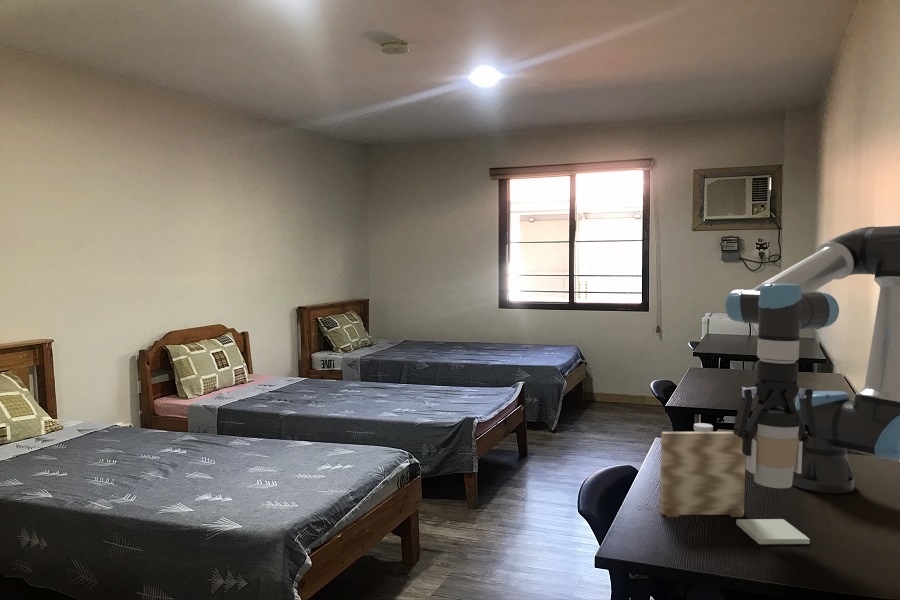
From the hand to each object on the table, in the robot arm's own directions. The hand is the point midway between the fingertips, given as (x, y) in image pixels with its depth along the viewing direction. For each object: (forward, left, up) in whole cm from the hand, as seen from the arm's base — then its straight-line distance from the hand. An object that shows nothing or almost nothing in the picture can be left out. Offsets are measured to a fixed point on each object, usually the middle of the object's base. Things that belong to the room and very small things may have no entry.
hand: (773, 471), depth 135 cm
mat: (0, 0, -13) cm, 13 cm away
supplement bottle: (-1, -38, -13) cm, 40 cm away
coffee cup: (0, 0, -3) cm, 3 cm away
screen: (+10, -11, -13) cm, 20 cm away
